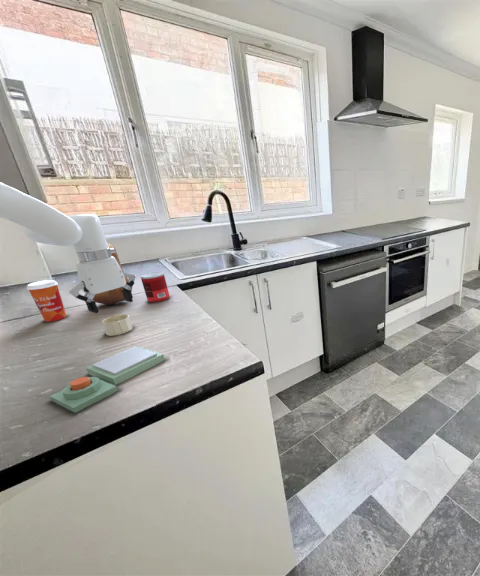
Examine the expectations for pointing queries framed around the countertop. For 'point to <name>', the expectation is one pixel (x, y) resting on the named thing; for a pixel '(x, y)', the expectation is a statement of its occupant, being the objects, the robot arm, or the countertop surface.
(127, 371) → the scale
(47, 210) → the robot arm
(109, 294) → the butternut squash
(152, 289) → the canned food
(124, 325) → the bowl
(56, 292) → the paper cup
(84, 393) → the pad
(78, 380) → the button
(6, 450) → the countertop surface
